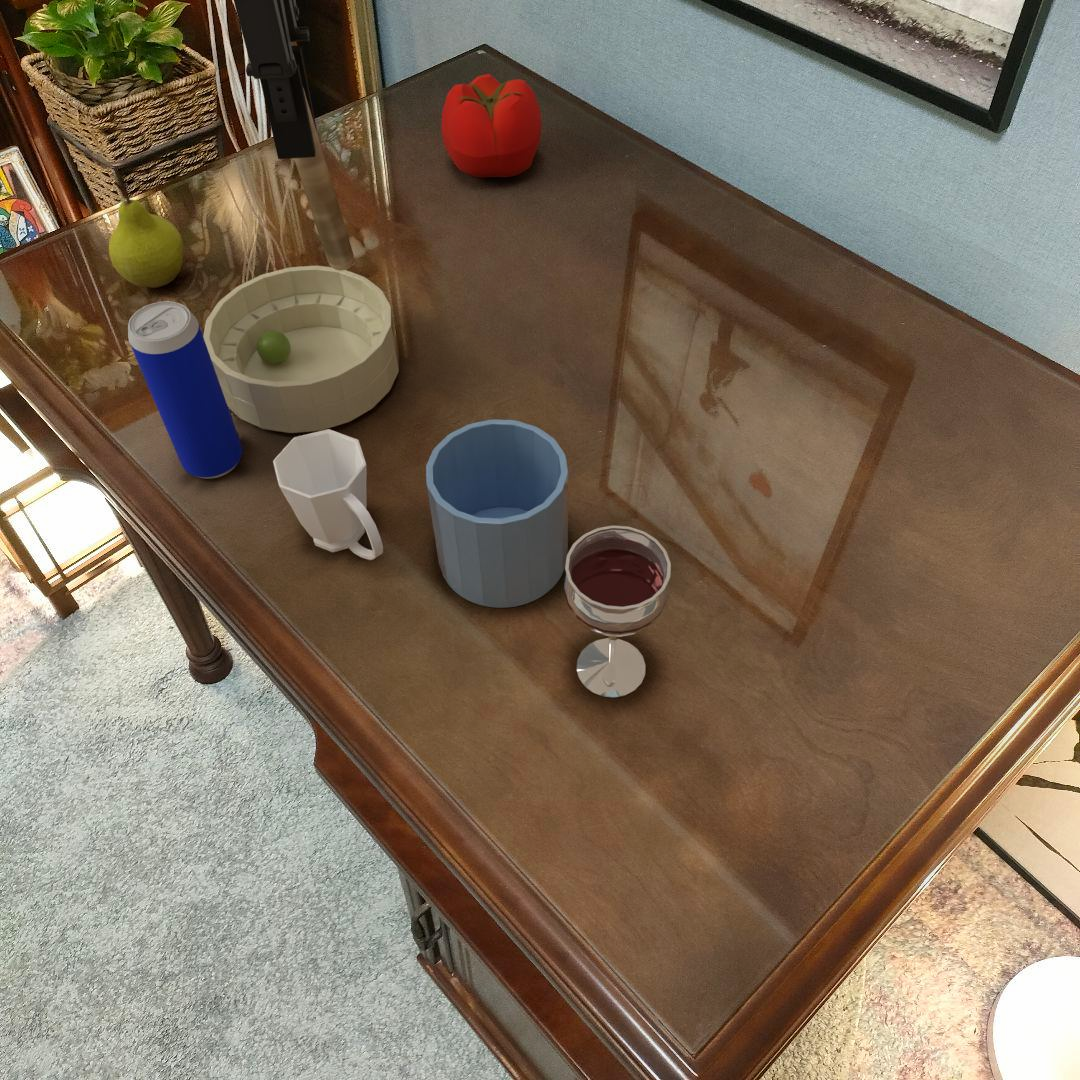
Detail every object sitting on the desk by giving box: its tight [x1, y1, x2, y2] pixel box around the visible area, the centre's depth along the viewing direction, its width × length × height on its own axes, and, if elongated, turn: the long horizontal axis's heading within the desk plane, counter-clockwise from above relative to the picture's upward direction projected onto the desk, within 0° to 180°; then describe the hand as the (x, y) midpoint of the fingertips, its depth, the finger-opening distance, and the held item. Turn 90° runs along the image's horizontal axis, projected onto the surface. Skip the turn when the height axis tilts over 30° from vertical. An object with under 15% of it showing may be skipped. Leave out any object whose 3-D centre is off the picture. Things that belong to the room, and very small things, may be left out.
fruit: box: [108, 181, 185, 289], centre depth 98 cm, size 7×7×12 cm
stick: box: [293, 55, 355, 271], centre depth 77 cm, size 2×2×20 cm
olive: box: [257, 331, 291, 364], centre depth 93 cm, size 3×3×3 cm
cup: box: [272, 428, 384, 561], centre depth 78 cm, size 7×10×8 cm
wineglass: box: [563, 525, 672, 698], centre depth 69 cm, size 7×7×12 cm
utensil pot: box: [425, 418, 569, 609], centre depth 76 cm, size 10×10×10 cm
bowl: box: [202, 265, 400, 434], centre depth 91 cm, size 16×16×6 cm
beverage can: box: [127, 300, 243, 480], centre depth 81 cm, size 5×5×15 cm
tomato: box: [441, 73, 543, 178], centre depth 112 cm, size 11×12×9 cm
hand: (297, 144), depth 76 cm, fingers closed on stick, 2 cm apart
